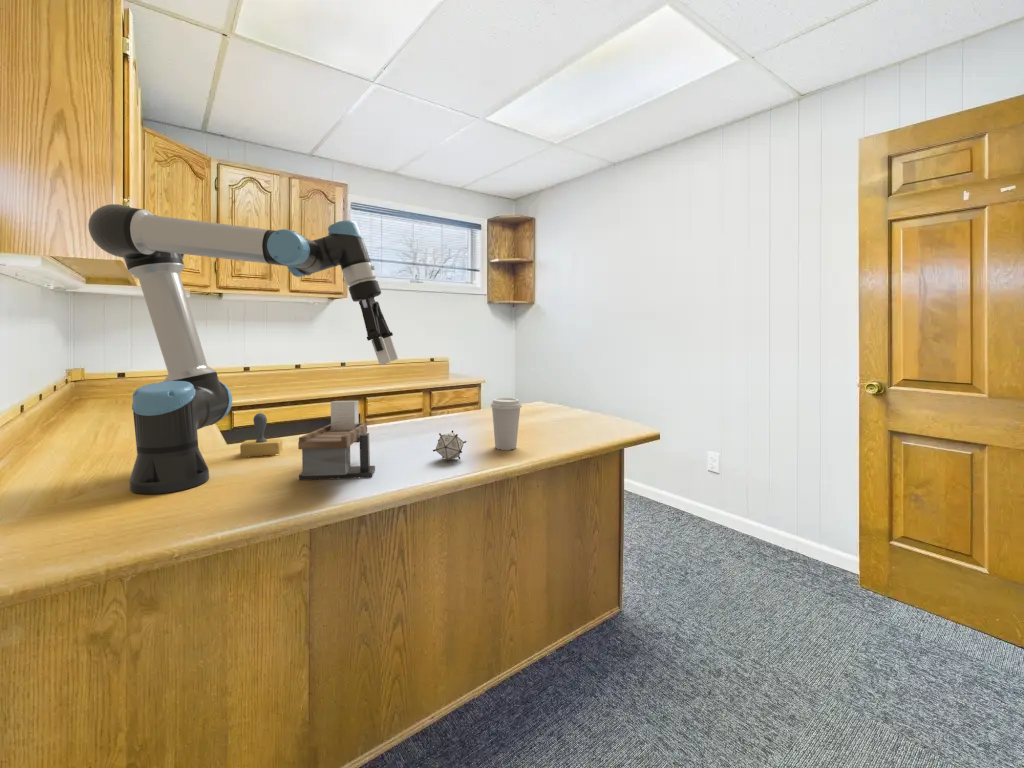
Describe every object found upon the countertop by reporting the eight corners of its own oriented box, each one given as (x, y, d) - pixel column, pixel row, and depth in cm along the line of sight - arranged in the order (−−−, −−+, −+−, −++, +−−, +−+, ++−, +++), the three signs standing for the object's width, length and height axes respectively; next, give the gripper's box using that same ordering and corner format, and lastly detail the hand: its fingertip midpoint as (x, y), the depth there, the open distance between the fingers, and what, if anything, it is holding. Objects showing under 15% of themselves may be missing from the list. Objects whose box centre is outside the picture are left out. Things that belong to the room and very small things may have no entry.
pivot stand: (306, 472, 123) (304, 433, 121) (375, 470, 125) (374, 431, 124) (299, 479, 117) (297, 438, 115) (371, 477, 119) (370, 436, 118)
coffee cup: (526, 446, 151) (527, 399, 149) (510, 453, 143) (510, 403, 141) (501, 442, 156) (501, 396, 154) (484, 448, 148) (484, 400, 146)
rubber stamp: (240, 457, 135) (238, 415, 134) (245, 452, 141) (243, 412, 139) (279, 455, 138) (277, 414, 137) (282, 450, 144) (280, 410, 142)
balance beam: (329, 454, 134) (329, 424, 134) (368, 453, 135) (367, 423, 135) (297, 477, 104) (297, 437, 104) (347, 475, 106) (347, 436, 106)
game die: (449, 470, 137) (454, 438, 142) (469, 465, 132) (474, 432, 137) (424, 460, 132) (431, 427, 137) (444, 454, 127) (450, 420, 132)
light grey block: (335, 428, 132) (335, 400, 132) (358, 427, 133) (358, 400, 133) (331, 430, 126) (330, 402, 126) (354, 430, 127) (354, 401, 127)
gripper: (366, 273, 112) (396, 360, 114) (384, 283, 136) (408, 355, 139) (335, 282, 111) (366, 370, 114) (358, 291, 136) (383, 363, 139)
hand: (389, 362), depth 127 cm, fingers open, 13 cm apart
